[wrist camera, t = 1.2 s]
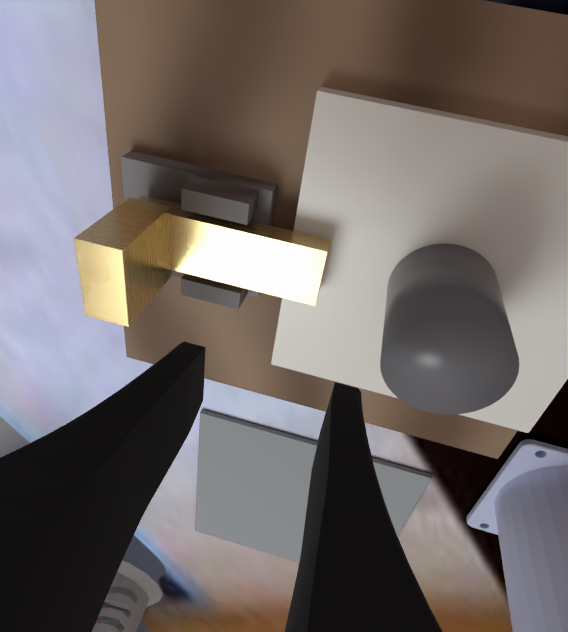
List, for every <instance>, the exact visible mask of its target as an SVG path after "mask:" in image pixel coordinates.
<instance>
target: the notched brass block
mask: <svg viewBox="0 0 568 632" xmlns="http://www.w3.org/2000/svg"><path fill="white" fill-rule="evenodd" d="M74 243H75V249H76V256H77V262H78V269H79V276H80V282H81V289H82V295H83V302H84V308H85V315H86V316H90V317H93V318H97V319H101V320H105V321H108V322H112V323H116V324H120V325H123V326H127V327H129V326H130V325H131V323H132V322H133V321H134V320H135V319H136V318H137V316H138V315H139V314H140V313H141V312H142V310H143V309H144V308H145V307H146V306H147V305H148V303H149V302H150V301H151V300H152V299H153V297H154V296H155V295H156V294H157V293H158V292H159V290H160V289H161V288H162V287H163V286H164V284H165V283H166V282H167V281H168V280H169V279H170V277H171V276H172V270H174V271H178V272H182V273H186V274H190V275H194V276H198V277H202V278H206V279H210V280H214V281H218V282H222V283H226V284H230V285H234V286H238V287H241V288H245V289H249V290H253V291H257V292H261V293H265V294H269V295H273V296H277V297H281V298H285V299H289V300H293V301H297V302H301V303H305V304H309V305H313V306H315V305H316V301H317V298H318V295H319V292H320V287H321V283H322V279H323V274H324V270H325V265H326V261H327V257H328V252H329V248H330V243H331V239H326V238H322V237H318V236H314V235H309V234H305V233H301V232H297V231H292V230H288V229H284V228H280V227H276V226H271V225H267V224H263V223H259V222H254V221H250V222H249V223H248V225H245V224H241V223H236V222H232V221H228V220H224V219H220V218H215V217H211V216H207V215H203V214H198V213H194V212H190V211H186V210H182V209H181V204H178V203H174V202H170V201H166V200H161V199H157V198H153V197H149V196H144V195H143V196H141V197H140V198H139V199H135V198H131V197H130V198H128V199H127V200H126V201H124V202H123V203H121V204H120V205H119V206H117V207H116V208H115V209H113V210H112V211H111V212H109V213H108V214H106V215H105V216H104V217H102V218H101V219H100V220H98V221H97V222H96V223H94V224H93V225H91V226H90V227H89V228H87V229H86V230H85V231H83V232H82V233H80V234H79V235H78V236H76V237H75V238H74Z"/></svg>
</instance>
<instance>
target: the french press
mask: <svg viewBox="0 0 568 632" xmlns="http://www.w3.org/2000/svg"><path fill="white" fill-rule="evenodd" d="M161 596H162V592H161V590H160V588H159V585H158V584H157V583H156V582H155V581H154V580H153V579H152V578H151V577H150V576H149V575H148V574H147V573H145V572H143V571H142V570H140V569H138V568H137V567H135V566H133V565H132V564H130V563H128V562H125V561H123V560H122V562H121V564H120V566H119V569H118V571H117V573H116V576H115V578H114V580H113V583H112V585H111V587H110V589H109V592H108V594H107V596H106V599H105V601H104V604H103V606H102V609H101V611H100V613H99V616H98V618H97V620H100V621H107V622H110V621H114V620H117V619H119V620H120V622H121V624H119V625H116V626H111V625H107V624H103V623H101V624H95V625H94V628H93V630H92V632H119V631H121V630H123V632H136V630H137V627H138V625H139V623H140V620H141V618H142V616H143V613H144V611H145V609H146V607H148V606H150V605H152V604H154V603H156V602H158V601H160V599H161ZM128 616H130V617H129V619H128V618H127V617H128Z"/></svg>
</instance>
